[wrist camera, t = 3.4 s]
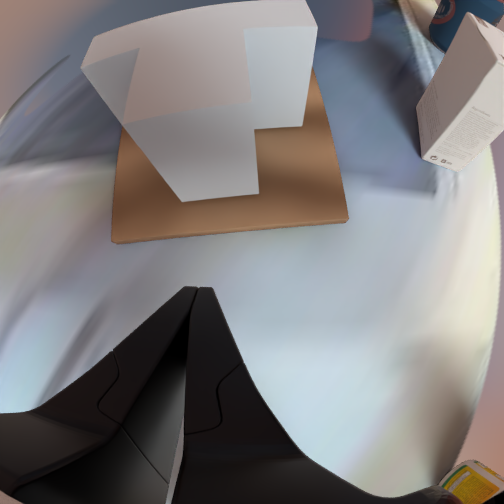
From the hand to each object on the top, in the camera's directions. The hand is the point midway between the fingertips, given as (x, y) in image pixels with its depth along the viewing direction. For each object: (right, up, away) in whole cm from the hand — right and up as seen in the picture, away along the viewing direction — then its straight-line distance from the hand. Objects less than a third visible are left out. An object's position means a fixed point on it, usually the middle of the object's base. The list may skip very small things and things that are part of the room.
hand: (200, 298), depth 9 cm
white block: (-1, +9, +11) cm, 14 cm away
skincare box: (+17, +11, +12) cm, 24 cm away
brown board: (-1, +11, +12) cm, 17 cm away
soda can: (+26, +27, +14) cm, 40 cm away
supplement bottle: (+20, -19, +6) cm, 28 cm away
